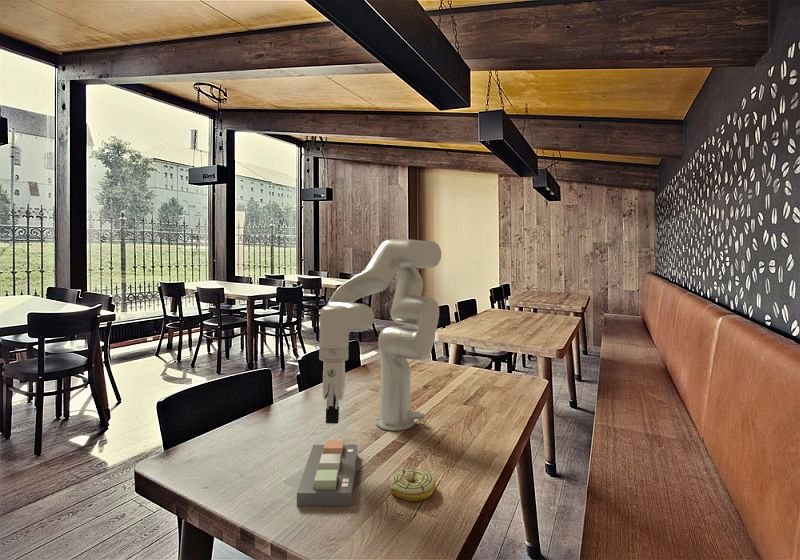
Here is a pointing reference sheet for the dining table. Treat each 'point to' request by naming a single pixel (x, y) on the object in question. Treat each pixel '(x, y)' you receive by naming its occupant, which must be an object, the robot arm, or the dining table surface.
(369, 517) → the dining table surface
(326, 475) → the sage key
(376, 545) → the dining table surface
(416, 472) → the decorated donut
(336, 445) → the terracotta key
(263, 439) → the dining table surface
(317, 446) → the keypad
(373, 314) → the robot arm
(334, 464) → the grey key
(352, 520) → the dining table surface
